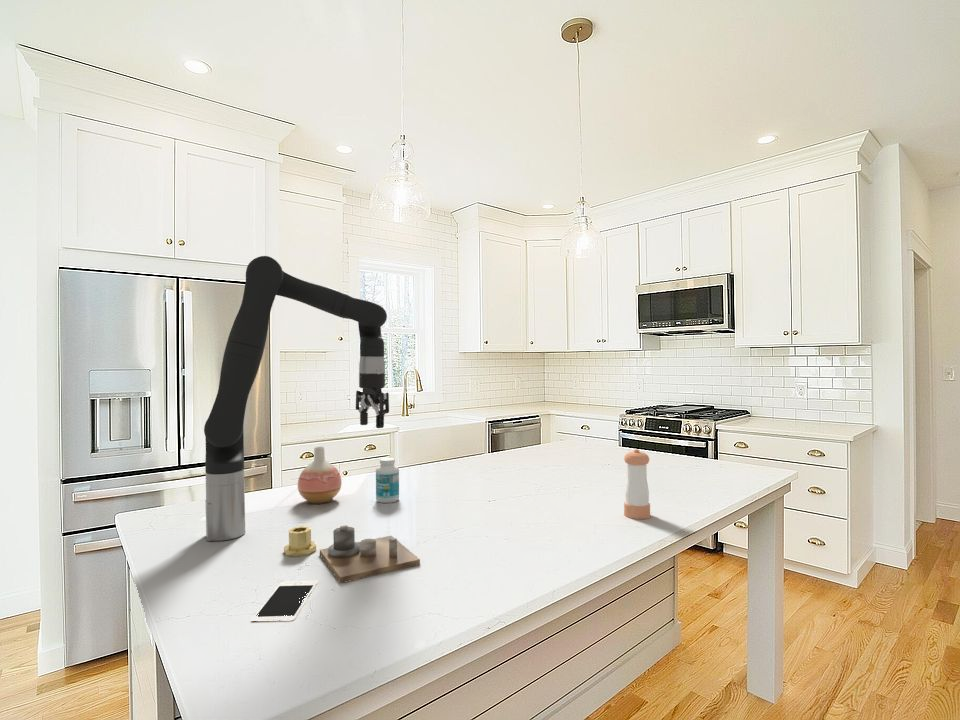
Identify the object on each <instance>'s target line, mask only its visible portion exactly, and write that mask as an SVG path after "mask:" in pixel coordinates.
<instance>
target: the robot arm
mask: <svg viewBox="0 0 960 720" xmlns="http://www.w3.org/2000/svg"><path fill="white" fill-rule="evenodd" d="M276 296H279V297H283V298H288V299H290V300H294V301H297V302H300V303H302V304H305V305H308V306H310V307H313V308H315V309H318V310H320V311H323V312H325V313H328V314H331V315H333V316H336V317H338V318H341V319H348V320H352V321H355V322H357V323H358V324H357V325H358V335H359V340H360V343H359V363H358V365H359V366H358V372H359V373H358V387H359V388H360V389H359V390H356V392H355V410H356V411H358V413H359V422H360V425H361V426H367V425H368V423H369V421H368V419H369V415H368V414H369V413H368V412H369V409H370V408H372V409H373V410H374V411H375V414H376V415H375V428H376V429H383V428H384V426H385V415H386V414H388V413H389V412H390V400H389V399H390V394H389V392H382V390H383V389H384V388H385V385H386V364H385V361H386V360H385V341H384V339H383V338H382V327H383V326H384V325H385V323H386V322H387V319H388V314H387V311H386V309H384V307H383V306H381V305H380V304H378V303H375V302H372V301H369V300H366V299H362V298H358V297H354V296H352V295H350V294H348V293H346V292H342V291H341V290H337V289H335V288H332V287H329V286H326V285H324V284H323V285H322V284H318V283H314V282H310V281H307V280H304V279H301V278H299V277H296V276H294V275H292V274H289V273H288V272H286V271H284V270H283V267H282V266H281V264H280V263H279V261H278V260H276V259H275V258H274V257H271V256H268V255H261V256H258V257H255V258H254V259H252V260H250V262H249V263H248V265H247V266H246V270H245V282H244V291H243V296H242V300H241V304H240V306H239V310H238V312H237V314H236V316H235V317H234V321H233V324H232V327H231V328H230V332H229V335H228V338H227V341H226V344H225V347H224V348H225V349H224V351H223V356H222V360H221V361H222V362H221V368H220V374H219V375H220V376H219V384H218V389H217V394H216V397H215V400H214V402H213V405H212V407H211V410H210V412H209V415H208V417H207V419H206V421H205V423H204V427H203V432H204V433H203V434H204V437H205V460H204V462H205V463H204V464H205V465H204V466H205V467H204V469H205V536H206V541H207V542H212V541H214V542H218V541H219V542H221V541H228V540H234V539H236V538H239V537H242V536H243V535H244V534H245V533H246V505H245V504H246V502H245V501H246V499H245V498H246V496H245V447H244V446H245V445H244V439H245V438H244V422H245V416H246V409H247V404H248V399H249V394H250V392H251V390H252V387H253V385H254V382H255V380H256V377H257V375H258V372H259V368H260V366H261V362H262V359H263V356H264V352H265V349H266V342H267V337H268V332H269V331H268V330H269V326H270V325H269V323H270V317H271V316H270V315H271V311H272V308H273V305H274V303H275V302H274V301H275V300H276Z"/></svg>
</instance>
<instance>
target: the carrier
mask: <svg viewBox="0 0 960 720" xmlns="http://www.w3.org/2000/svg"><path fill="white" fill-rule="evenodd" d="M332 531H333V532H332V533H333V534H332V535H333V538H332V539H333V544H331V545H330V546H328V547H326V548H321V549H319V556H320V555H321V556H322V557H321V556H320V557H321V558H322V560H323V559H324V560H323V561H324V563H325V562H326V563H325V564H326V565H327V567H328V566H329V567H328V568H329V569H330V570H332V571H331V572H332V574H333V575H334V574H335V575H334V576H335V578H336V577H337V578H336V579H337V580H338V582H339V581H340V582H339V583H340V584H342V583H341V582H343V583H346V582H345V581H347V582H350V581H349V580H352V581H354V580H355V579H356V580H360V579H363V578H368V577H372V576H376V575H377V576H378V575H380V574H381V575H383V574H384V573H385V574H386V573H389V572H390V573H391V572H395V571H398V570H402V569H407V568H411V567H415V566H419V565H421V559H420V558H419V557H418V555H415V554H414V553H413V552H412V551H410V549H408V548H407V547H406V546H405V545H403V544H402V543H401V542H400V541H398V538H396V537H394V536H392V535H388V536H383V537H378V538H366V539H363V540H361V541H357V542H356V541H355V538H356V537H355V528H354V527H353V526H349V525H340V527H337V528H335V529H333V530H332ZM359 578H360V579H359Z"/></svg>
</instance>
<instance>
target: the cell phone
mask: <svg viewBox="0 0 960 720" xmlns="http://www.w3.org/2000/svg"><path fill="white" fill-rule="evenodd" d="M317 583H319V581H318V580H307V581H305V580H304V581H301V580H300V581H281V582H279V584H278V585H277V586H276V588H275V589H274V590H273V591H272V593H271V594H270V595H269V596H268V597H267V599H266V600H265V601H264V603H263V604H262V605H261V607H260V608H259V609H258V611H257V612H256V613H257V615H258V614H259V615H258V617H259V618H260V619H261V620H268V621H269V620H273V621H274V620H277V619H279V620H283V619H284V618H283V617H285V616H286V615H287V616H289V619H290V616H291V615H292V616H293V617H295V616H296V615H297V614H298V613H297V612H299V610H300V608H301V607H302V605H303V603H304V600H303V599H304V598H306V597H307V595H309V594H307V593H311V592H312V591H311V590H313V589H314V590H315V588H316V587H317V585H318V584H317ZM316 584H317V585H316ZM315 586H316V587H315ZM314 587H315V588H314ZM314 590H313V591H314ZM310 591H311V592H310ZM305 592H306V593H305ZM312 593H313V592H312ZM312 593H311V594H312ZM306 594H307V595H306ZM304 596H306V597H304ZM302 597H303V598H302ZM299 598H300V599H299ZM302 600H303V602H302ZM299 601H300V603H299ZM301 603H302V604H301ZM299 613H300V612H299ZM295 614H296V615H295ZM257 615H256V616H257ZM284 615H285V616H284ZM298 615H299V614H298ZM298 615H297V616H298ZM276 616H277V617H276ZM282 616H283V617H282ZM292 616H291V617H292ZM278 617H279V618H278ZM276 618H277V619H276ZM285 618H286V617H285ZM287 618H288V617H287ZM291 619H292V618H291ZM287 620H288V619H287Z"/></svg>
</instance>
